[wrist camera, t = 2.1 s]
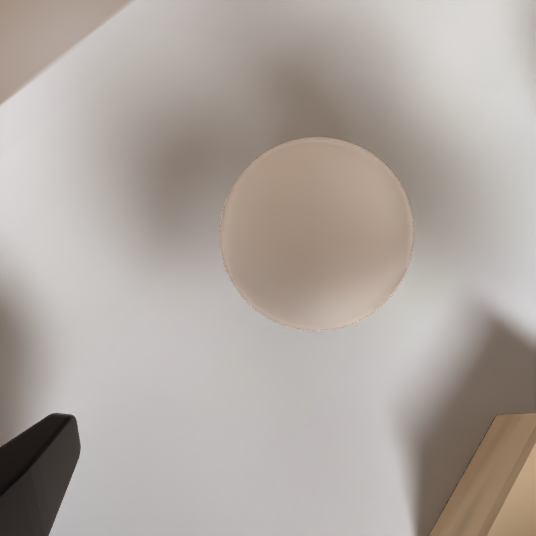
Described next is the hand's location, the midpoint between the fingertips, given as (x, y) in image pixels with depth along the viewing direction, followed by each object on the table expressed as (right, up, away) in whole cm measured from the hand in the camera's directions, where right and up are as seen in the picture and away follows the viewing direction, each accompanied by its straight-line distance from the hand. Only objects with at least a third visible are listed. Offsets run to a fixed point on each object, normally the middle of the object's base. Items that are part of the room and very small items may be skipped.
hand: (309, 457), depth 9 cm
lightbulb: (+1, +2, +14) cm, 14 cm away
